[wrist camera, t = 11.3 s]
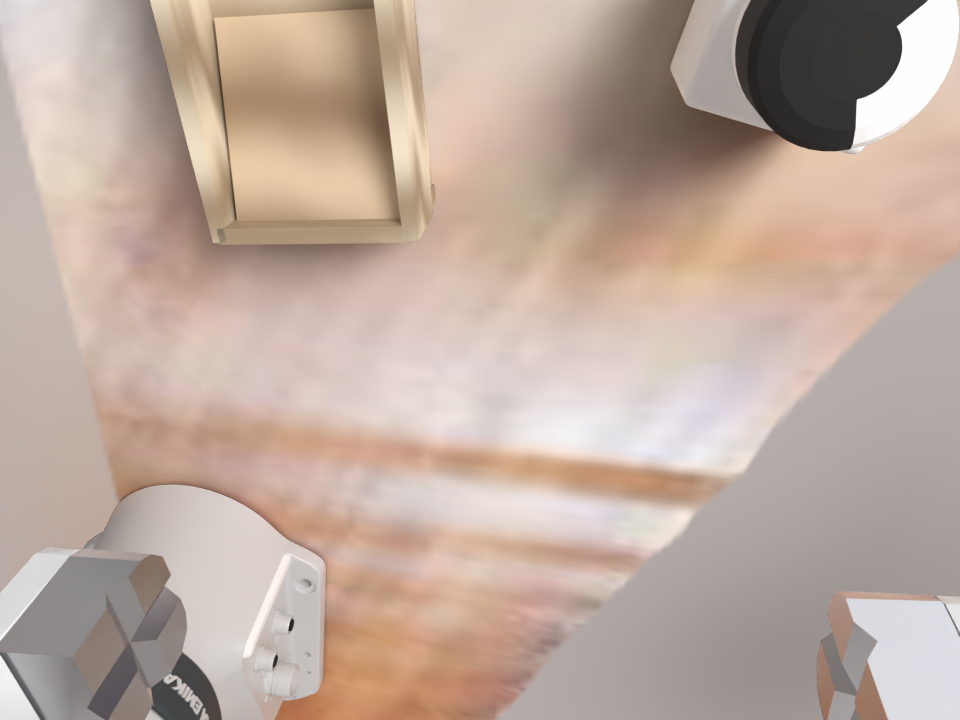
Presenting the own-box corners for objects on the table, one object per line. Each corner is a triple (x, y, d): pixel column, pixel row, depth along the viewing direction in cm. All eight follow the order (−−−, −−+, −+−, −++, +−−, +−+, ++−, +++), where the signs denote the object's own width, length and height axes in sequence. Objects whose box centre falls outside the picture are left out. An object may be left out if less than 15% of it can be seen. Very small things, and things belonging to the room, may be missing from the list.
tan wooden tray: (442, 199, 39) (418, 242, 34) (261, 202, 40) (213, 245, 35) (406, -180, 31) (368, -198, 26) (182, -158, 32) (105, -171, 27)
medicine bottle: (666, 72, 34) (695, 139, 24) (732, -106, 31) (799, -114, 21) (815, 115, 35) (905, 201, 24) (898, -56, 31) (1046, -39, 21)
